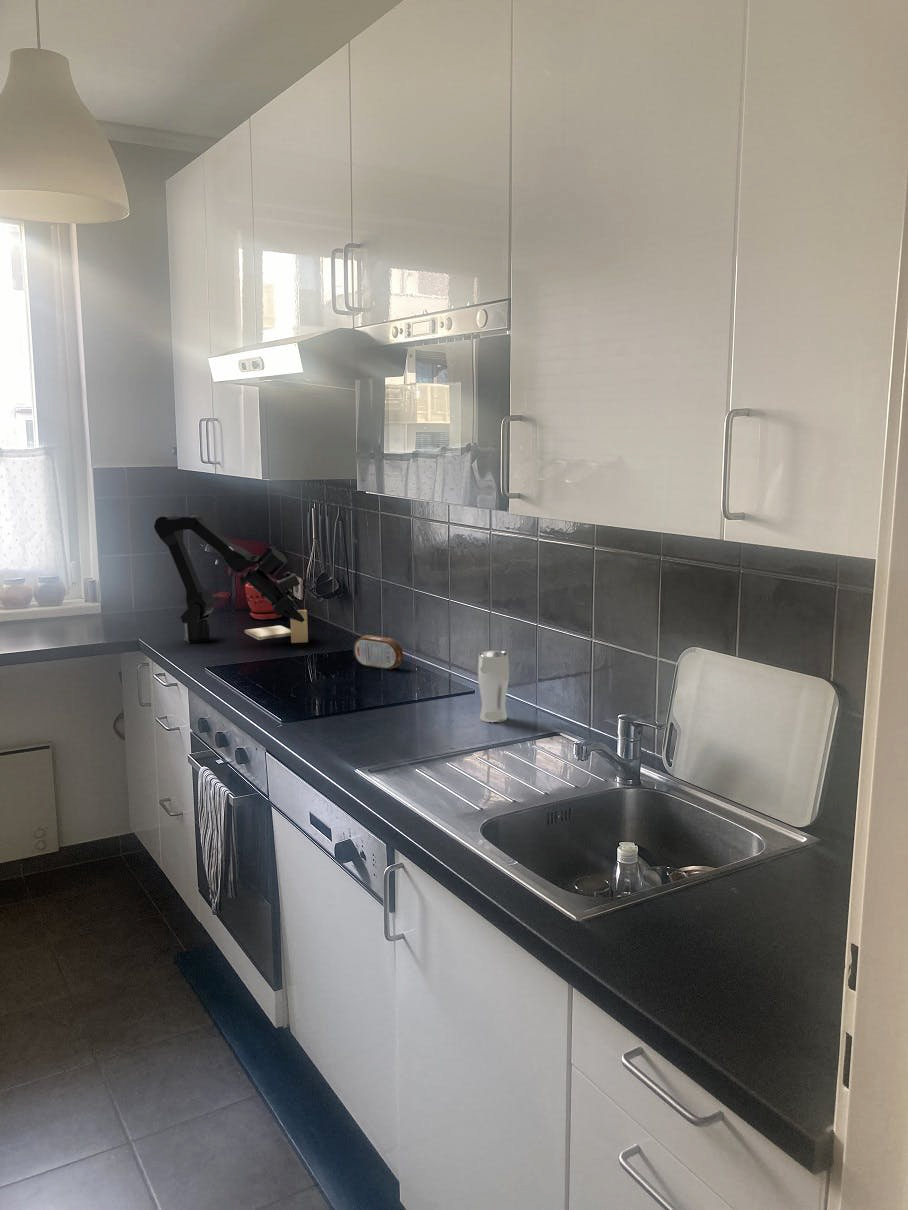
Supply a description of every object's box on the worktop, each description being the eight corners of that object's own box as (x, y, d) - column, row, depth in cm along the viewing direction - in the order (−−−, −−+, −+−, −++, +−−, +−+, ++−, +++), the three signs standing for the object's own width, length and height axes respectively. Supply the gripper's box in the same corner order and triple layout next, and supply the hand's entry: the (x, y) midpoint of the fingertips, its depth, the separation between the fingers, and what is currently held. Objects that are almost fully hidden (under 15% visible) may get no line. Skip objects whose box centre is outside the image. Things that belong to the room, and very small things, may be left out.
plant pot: (277, 612, 346) (275, 578, 344) (292, 618, 335) (290, 583, 333) (241, 616, 340) (239, 581, 337) (255, 622, 329) (253, 587, 326)
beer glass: (483, 724, 218) (482, 658, 215) (474, 715, 224) (473, 651, 222) (513, 721, 220) (513, 656, 217) (503, 713, 226) (503, 649, 223)
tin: (404, 669, 266) (403, 639, 265) (397, 672, 264) (396, 641, 262) (359, 662, 274) (358, 633, 273) (352, 665, 272) (351, 635, 270)
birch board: (258, 640, 303) (258, 636, 303) (244, 633, 313) (244, 629, 313) (295, 635, 309) (295, 632, 309) (280, 628, 319) (280, 625, 319)
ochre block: (291, 642, 299) (290, 613, 297) (291, 639, 303) (289, 610, 302) (308, 642, 299) (306, 612, 298) (307, 638, 304) (306, 609, 303)
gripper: (283, 569, 287) (322, 605, 291) (282, 560, 305) (320, 594, 309) (256, 597, 288) (296, 633, 291) (258, 587, 306) (295, 620, 310)
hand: (303, 619), depth 300 cm, fingers closed on ochre block, 5 cm apart
